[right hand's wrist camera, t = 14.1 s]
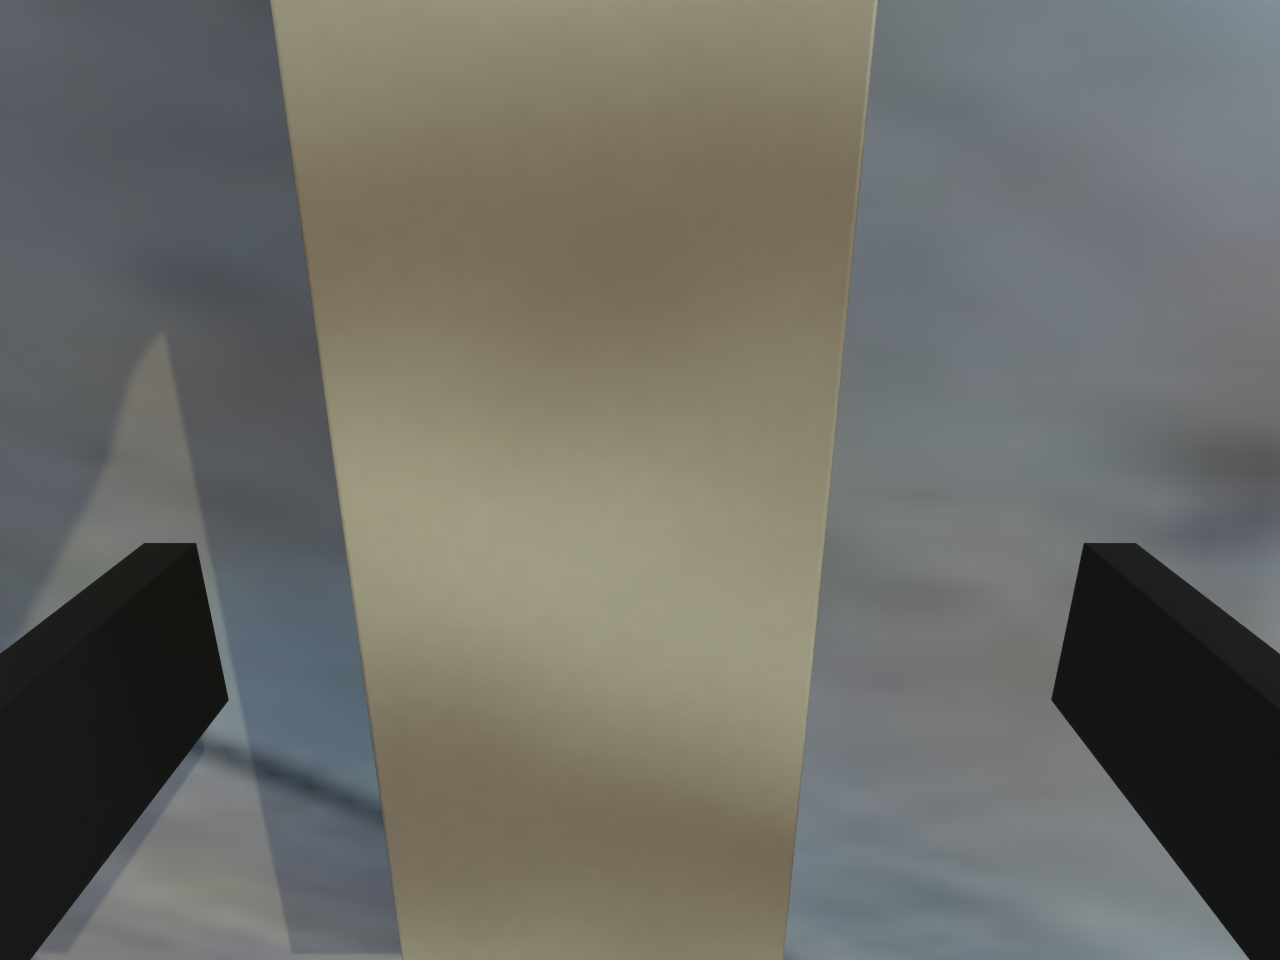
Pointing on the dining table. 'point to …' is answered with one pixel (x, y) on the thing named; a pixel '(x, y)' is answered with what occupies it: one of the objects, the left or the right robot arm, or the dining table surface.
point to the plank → (582, 443)
